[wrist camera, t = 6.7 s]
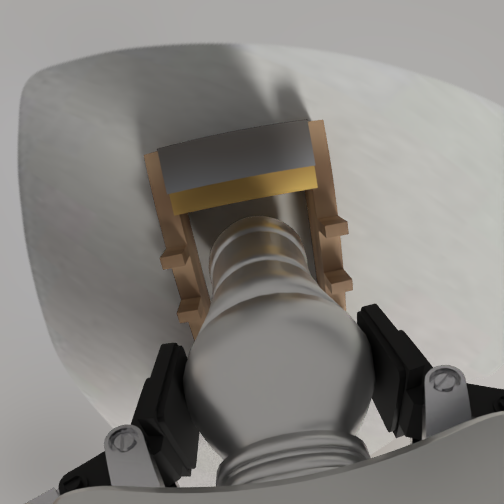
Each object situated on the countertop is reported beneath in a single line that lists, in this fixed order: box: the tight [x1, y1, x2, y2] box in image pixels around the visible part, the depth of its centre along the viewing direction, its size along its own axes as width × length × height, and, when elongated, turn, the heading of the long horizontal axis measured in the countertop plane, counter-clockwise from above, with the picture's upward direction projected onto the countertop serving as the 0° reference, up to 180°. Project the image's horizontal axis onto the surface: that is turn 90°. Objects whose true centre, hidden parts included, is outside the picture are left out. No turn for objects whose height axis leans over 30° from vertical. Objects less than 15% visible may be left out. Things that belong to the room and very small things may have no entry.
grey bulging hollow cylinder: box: [183, 216, 375, 486], centre depth 14 cm, size 6×7×20 cm
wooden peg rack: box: [144, 120, 353, 341], centre depth 21 cm, size 22×12×9 cm, turn 11°
